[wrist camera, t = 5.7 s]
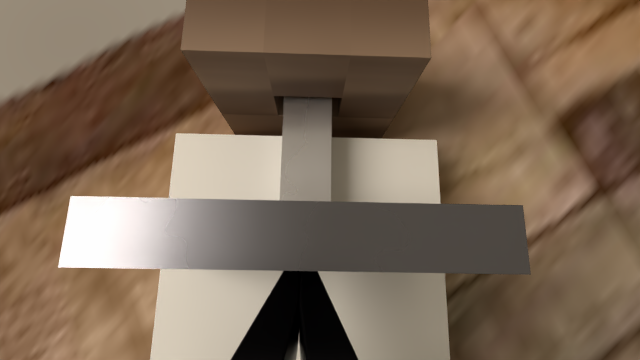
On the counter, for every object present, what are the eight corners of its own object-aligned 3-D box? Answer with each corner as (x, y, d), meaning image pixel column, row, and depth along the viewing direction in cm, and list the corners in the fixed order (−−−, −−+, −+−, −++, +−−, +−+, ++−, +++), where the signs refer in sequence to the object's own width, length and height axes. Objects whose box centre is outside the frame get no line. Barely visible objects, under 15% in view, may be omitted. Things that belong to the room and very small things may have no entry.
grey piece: (422, 263, 14) (530, 274, 7) (183, 259, 14) (58, 267, 7) (414, 98, 16) (496, -21, 9) (200, 93, 15) (112, -35, 8)
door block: (426, 365, 16) (451, 391, 13) (177, 363, 16) (146, 389, 13) (416, 157, 18) (436, 140, 15) (198, 152, 18) (176, 133, 15)
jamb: (380, 139, 18) (431, 57, 11) (236, 136, 18) (180, 50, 10) (378, 74, 19) (425, -46, 11) (241, 70, 19) (193, -55, 11)
